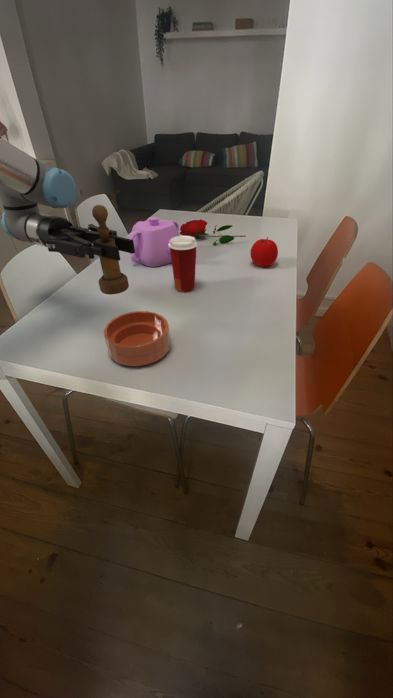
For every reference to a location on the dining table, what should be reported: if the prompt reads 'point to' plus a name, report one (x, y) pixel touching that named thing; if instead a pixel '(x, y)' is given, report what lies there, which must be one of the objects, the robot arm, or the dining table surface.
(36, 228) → the robot arm
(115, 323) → the bowl
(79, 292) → the dining table surface
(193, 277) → the coffee cup
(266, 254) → the fruit
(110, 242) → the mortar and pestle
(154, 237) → the teapot
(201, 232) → the flower
